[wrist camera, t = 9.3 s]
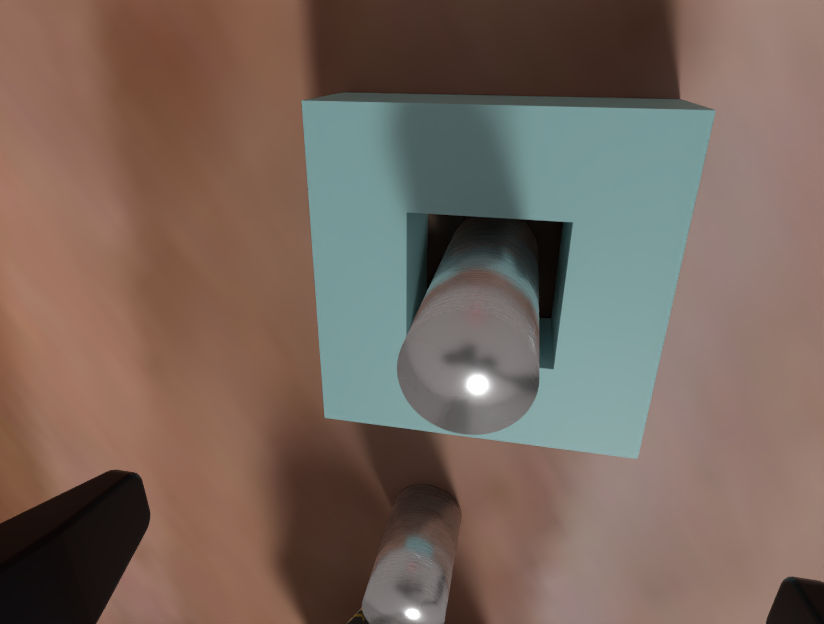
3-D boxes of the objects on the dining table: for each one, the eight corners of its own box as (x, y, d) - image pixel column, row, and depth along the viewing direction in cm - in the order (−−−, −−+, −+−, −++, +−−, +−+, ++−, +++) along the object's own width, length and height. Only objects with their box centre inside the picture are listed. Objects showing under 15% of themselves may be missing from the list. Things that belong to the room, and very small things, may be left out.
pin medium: (542, 213, 18) (547, 318, 11) (533, 298, 19) (531, 443, 12) (450, 208, 18) (396, 304, 11) (447, 291, 20) (396, 425, 13)
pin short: (463, 490, 23) (445, 593, 19) (459, 542, 25) (442, 650, 20) (393, 480, 24) (360, 577, 19) (394, 531, 25) (363, 634, 21)
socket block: (680, 99, 16) (716, 110, 13) (622, 395, 20) (637, 458, 17) (343, 92, 18) (301, 100, 14) (355, 366, 22) (324, 417, 19)
